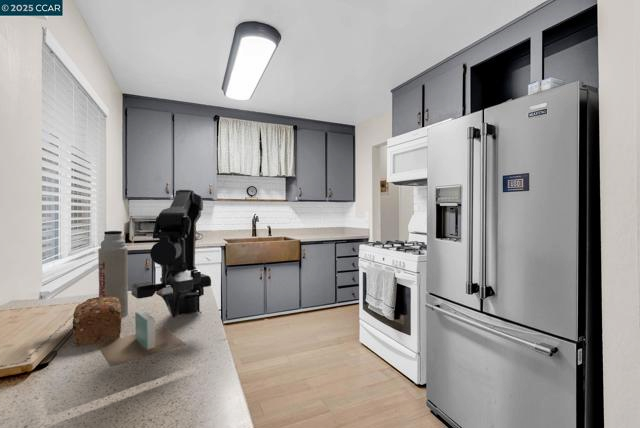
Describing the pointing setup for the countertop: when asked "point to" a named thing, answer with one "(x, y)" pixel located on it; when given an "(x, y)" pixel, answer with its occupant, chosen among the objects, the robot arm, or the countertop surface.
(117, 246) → the thermos bottle
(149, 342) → the tile
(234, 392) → the countertop surface
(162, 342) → the board
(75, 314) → the bread
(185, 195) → the robot arm
